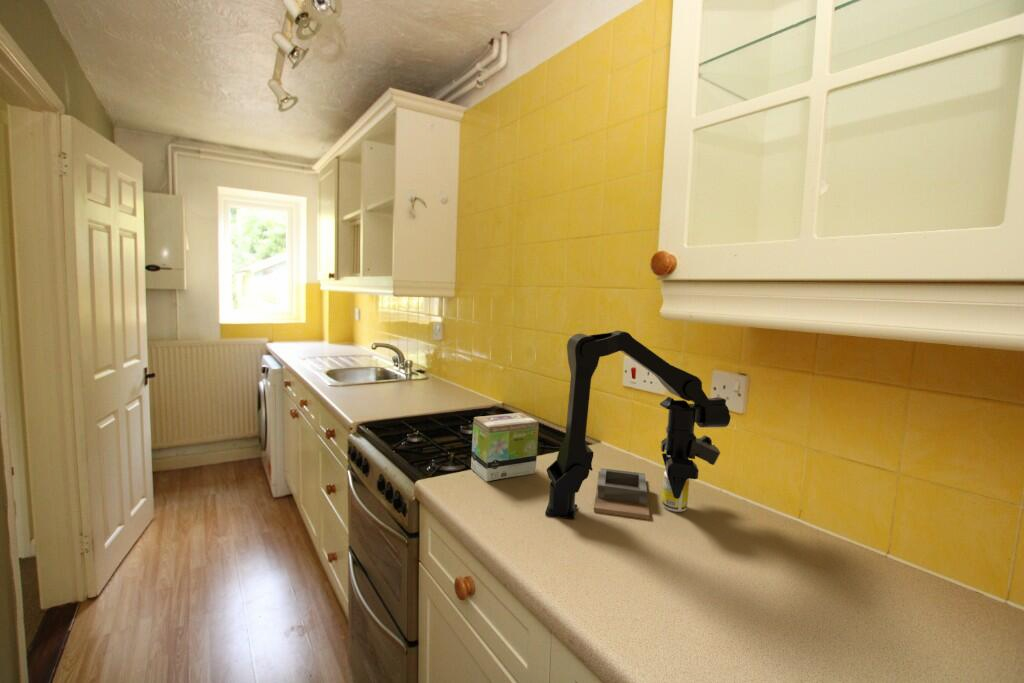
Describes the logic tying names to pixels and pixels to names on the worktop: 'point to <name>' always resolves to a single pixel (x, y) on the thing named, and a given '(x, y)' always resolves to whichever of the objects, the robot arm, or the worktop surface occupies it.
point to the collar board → (622, 494)
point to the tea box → (504, 446)
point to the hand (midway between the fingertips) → (675, 492)
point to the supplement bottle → (669, 499)
